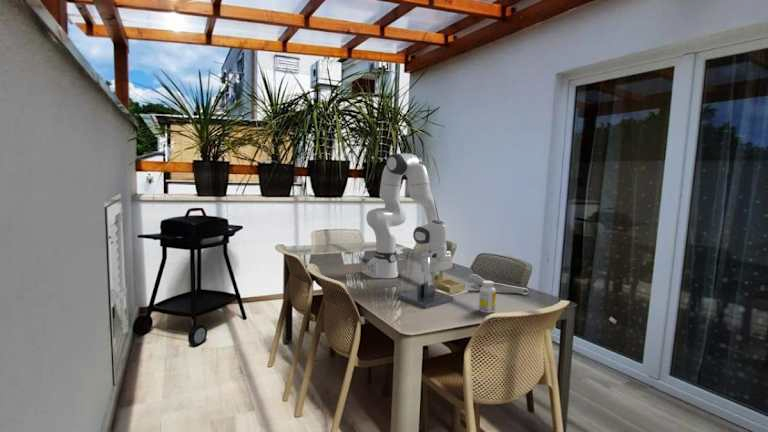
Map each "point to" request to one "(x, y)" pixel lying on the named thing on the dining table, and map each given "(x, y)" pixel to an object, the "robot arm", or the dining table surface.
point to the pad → (452, 293)
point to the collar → (442, 284)
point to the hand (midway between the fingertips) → (436, 279)
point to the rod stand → (426, 292)
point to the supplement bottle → (487, 297)
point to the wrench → (495, 285)
